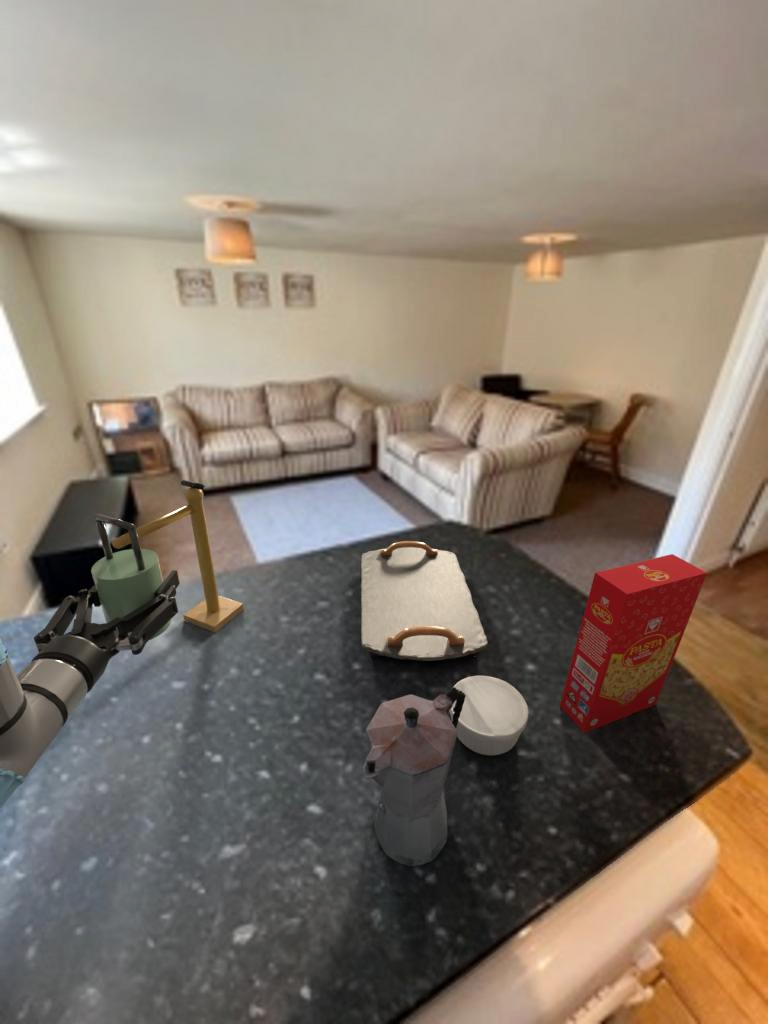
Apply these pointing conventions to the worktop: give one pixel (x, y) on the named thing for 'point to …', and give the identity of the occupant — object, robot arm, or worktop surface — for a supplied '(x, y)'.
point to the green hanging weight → (125, 574)
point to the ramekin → (490, 715)
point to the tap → (214, 607)
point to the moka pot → (412, 773)
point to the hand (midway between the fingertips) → (146, 576)
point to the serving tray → (417, 605)
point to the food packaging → (629, 638)
